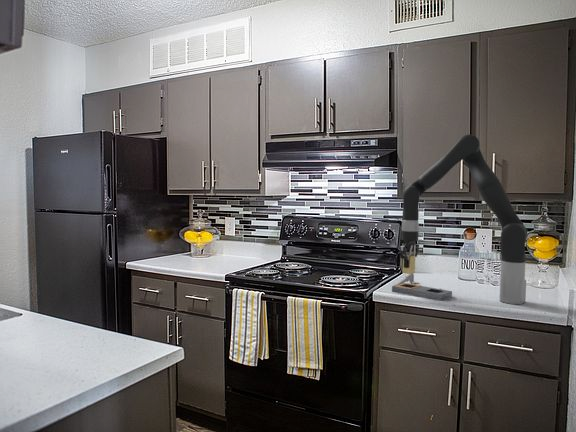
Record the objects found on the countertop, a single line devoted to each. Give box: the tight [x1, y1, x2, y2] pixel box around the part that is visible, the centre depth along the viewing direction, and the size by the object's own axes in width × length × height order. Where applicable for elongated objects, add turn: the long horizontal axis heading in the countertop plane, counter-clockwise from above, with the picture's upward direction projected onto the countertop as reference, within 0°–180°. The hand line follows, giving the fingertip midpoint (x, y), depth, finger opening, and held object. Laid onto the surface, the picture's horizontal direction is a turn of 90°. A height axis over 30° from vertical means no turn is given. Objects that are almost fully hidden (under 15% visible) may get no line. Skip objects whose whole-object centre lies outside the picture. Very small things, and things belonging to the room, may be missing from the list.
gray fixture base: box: [391, 282, 453, 302], centre depth 209 cm, size 24×10×3 cm, turn 46°
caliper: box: [394, 273, 415, 285], centre depth 227 cm, size 20×1×6 cm, turn 139°
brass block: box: [401, 255, 416, 275], centre depth 213 cm, size 4×4×8 cm
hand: (408, 267), depth 213 cm, fingers closed on brass block, 4 cm apart
